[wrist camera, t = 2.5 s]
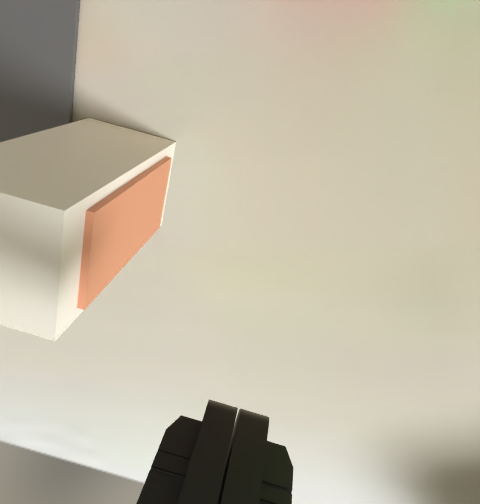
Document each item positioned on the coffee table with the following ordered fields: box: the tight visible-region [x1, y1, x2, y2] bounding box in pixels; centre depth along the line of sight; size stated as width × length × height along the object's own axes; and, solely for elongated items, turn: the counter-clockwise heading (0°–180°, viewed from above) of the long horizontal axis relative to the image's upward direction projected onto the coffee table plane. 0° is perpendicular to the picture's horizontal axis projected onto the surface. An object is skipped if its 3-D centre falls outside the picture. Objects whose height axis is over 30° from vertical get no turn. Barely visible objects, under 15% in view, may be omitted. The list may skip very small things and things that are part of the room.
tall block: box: [0, 118, 176, 341], centre depth 20 cm, size 5×5×12 cm
